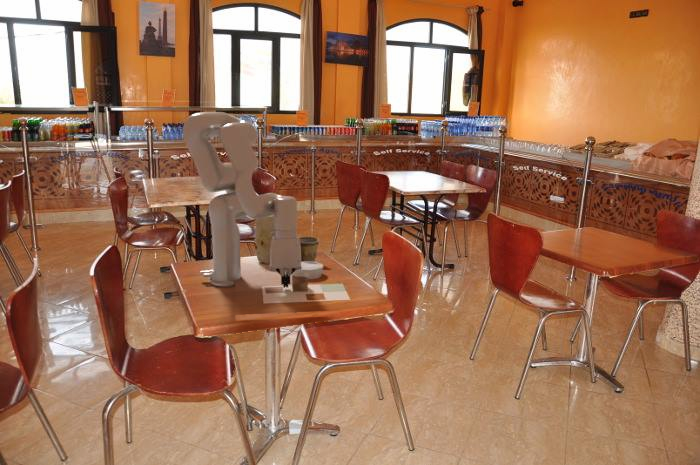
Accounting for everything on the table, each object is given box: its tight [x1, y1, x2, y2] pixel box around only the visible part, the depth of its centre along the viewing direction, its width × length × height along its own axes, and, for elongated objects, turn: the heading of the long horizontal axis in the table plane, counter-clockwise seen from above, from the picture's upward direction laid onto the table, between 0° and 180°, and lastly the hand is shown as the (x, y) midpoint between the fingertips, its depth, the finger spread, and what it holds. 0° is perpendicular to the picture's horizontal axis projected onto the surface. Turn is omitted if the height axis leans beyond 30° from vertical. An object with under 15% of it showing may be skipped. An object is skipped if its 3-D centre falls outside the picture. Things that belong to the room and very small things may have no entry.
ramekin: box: [293, 261, 324, 280], centre depth 208 cm, size 11×11×5 cm
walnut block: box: [291, 272, 309, 292], centre depth 192 cm, size 5×5×5 cm
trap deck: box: [261, 283, 351, 304], centre depth 189 cm, size 28×16×2 cm, turn 100°
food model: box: [254, 215, 274, 265], centre depth 224 cm, size 10×7×20 cm
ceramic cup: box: [298, 236, 320, 262], centre depth 226 cm, size 13×10×10 cm
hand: (285, 286), depth 192 cm, fingers closed
